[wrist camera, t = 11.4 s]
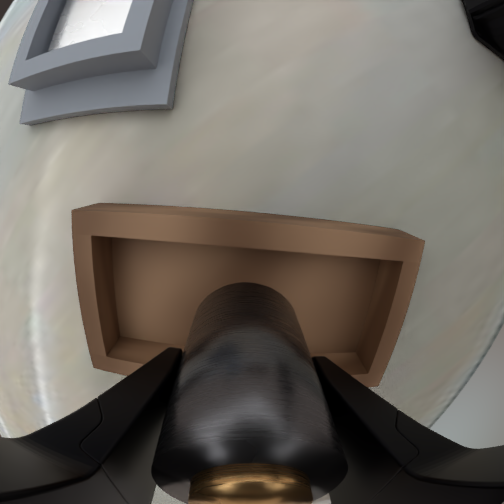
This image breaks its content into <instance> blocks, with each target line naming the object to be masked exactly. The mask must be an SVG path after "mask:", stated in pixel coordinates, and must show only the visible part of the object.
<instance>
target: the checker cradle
mask: <svg viewBox="0 0 504 504" xmlns="http://www.w3.org/2000/svg"><path fill="white" fill-rule="evenodd" d="M193 1H194V0H133V1H132V3H131V6H130V9H129V12H128V15H127V18H126V21H125V24H124V28H123V31H122V33H117V34H112V35H107V36H103V37H98V38H94V39H90V40H86V41H82V42H78V43H75V44H71V45H68V46H65V47H62V48H59V49H56V50H53V51H50V52H48V50H49V47H50V44H51V41H52V38H53V35H54V32H55V29H56V27H57V24H58V21H59V19H60V16H61V14H62V12H63V9H64V7H65V5H66V2H67V0H38V3H37V5H36V7H35V9H34V11H33V13H32V15H31V18H30V20H29V22H28V25H27V27H26V30H25V32H24V35H23V38H22V40H21V43H20V46H19V49H18V52H17V55H16V58H15V61H14V65H13V68H12V72H11V75H10V79H9V83H8V84H9V85H13V86H16V87H20V88H23V89H26V91H25V96H24V101H23V106H22V112H21V118H20V124H25V125H34V124H38V123H43V122H48V121H53V120H58V119H64V118H70V117H77V116H84V115H91V114H100V113H109V112H120V111H134V110H156V109H173V102H174V95H175V89H176V82H177V76H178V70H179V65H180V59H181V54H182V49H183V44H184V39H185V34H186V30H187V25H188V21H189V17H190V13H191V9H192V5H193Z"/></svg>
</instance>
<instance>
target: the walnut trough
mask: <svg viewBox="0 0 504 504" xmlns="http://www.w3.org/2000/svg"><path fill="white" fill-rule="evenodd" d="M72 238H73V252H74V264H75V273H76V282H77V289H78V296H79V302H80V308H81V314H82V320H83V325H84V330H85V334H86V339H87V343H88V348H89V352H90V356H91V360H92V364H93V367H94V368H96V369H100V370H104V371H108V372H113V373H117V374H122V375H126V376H129V375H130V374H131V373H133V372H134V371H136V370H137V369H138V368H140V367H141V366H143V365H144V364H146V363H147V362H148V361H150V360H151V359H153V358H154V357H155V356H157V355H158V354H160V353H161V352H162V351H164V350H165V349H166V348H168V347H176V348H181V349H182V352H183V351H184V348H185V344H186V341H187V338H188V335H189V331H190V328H191V325H192V322H193V319H194V316H195V313H196V311H197V308H198V307H199V305H200V304H201V302H202V301H203V300H204V299H205V298H206V297H207V296H208V295H209V294H211V293H212V292H213V291H215V290H217V289H219V288H221V287H223V286H226V285H229V284H234V283H241V282H251V283H258V284H262V285H265V286H268V287H270V288H273V289H274V290H276V291H278V292H279V293H281V294H282V295H283V296H284V297H285V298H286V299H287V300H288V301H289V302H290V304H291V305H292V307H293V308H294V310H295V313H296V316H297V318H298V321H299V324H300V327H301V329H302V332H303V335H304V338H305V341H306V343H307V346H308V349H309V352H310V355H311V357H313V356H325V357H327V358H328V359H330V360H331V361H332V362H334V363H335V364H336V365H338V366H339V367H340V368H342V369H343V370H344V371H346V372H347V373H348V374H350V375H351V376H352V377H354V378H355V379H356V380H358V381H359V382H361V383H362V384H363V385H365V386H366V387H375V386H378V385H379V383H380V381H381V379H382V376H383V374H384V372H385V369H386V367H387V365H388V362H389V360H390V357H391V355H392V352H393V350H394V347H395V344H396V342H397V339H398V336H399V333H400V331H401V328H402V325H403V322H404V319H405V316H406V313H407V309H408V306H409V303H410V300H411V296H412V293H413V289H414V285H415V282H416V278H417V274H418V270H419V266H420V262H421V257H422V253H423V248H424V244H425V241H424V240H422V239H419V238H417V237H415V236H412V235H410V234H408V233H405V232H403V231H400V230H398V229H391V228H385V227H377V226H370V225H363V224H355V223H347V222H339V221H331V220H323V219H314V218H305V217H296V216H286V215H276V214H266V213H255V212H244V211H232V210H220V209H206V208H192V207H176V206H159V205H138V204H113V203H97V204H93V205H89V206H85V207H81V208H78V209H74V210H72Z"/></svg>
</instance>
